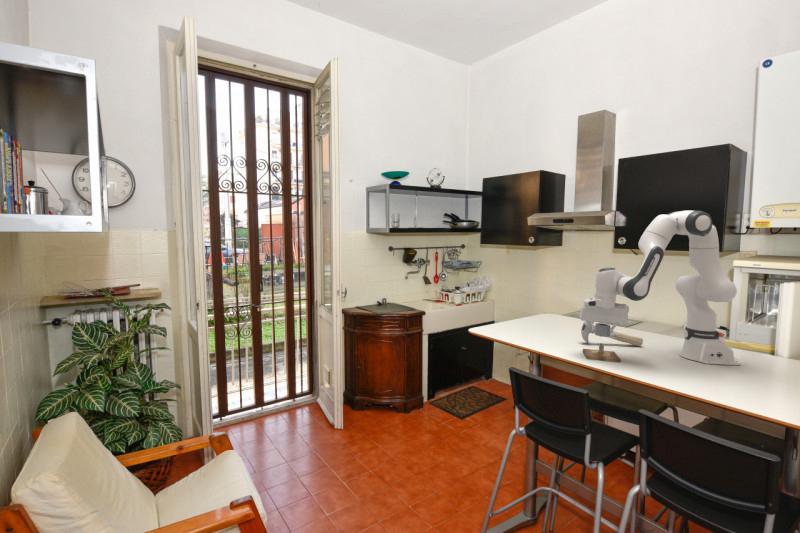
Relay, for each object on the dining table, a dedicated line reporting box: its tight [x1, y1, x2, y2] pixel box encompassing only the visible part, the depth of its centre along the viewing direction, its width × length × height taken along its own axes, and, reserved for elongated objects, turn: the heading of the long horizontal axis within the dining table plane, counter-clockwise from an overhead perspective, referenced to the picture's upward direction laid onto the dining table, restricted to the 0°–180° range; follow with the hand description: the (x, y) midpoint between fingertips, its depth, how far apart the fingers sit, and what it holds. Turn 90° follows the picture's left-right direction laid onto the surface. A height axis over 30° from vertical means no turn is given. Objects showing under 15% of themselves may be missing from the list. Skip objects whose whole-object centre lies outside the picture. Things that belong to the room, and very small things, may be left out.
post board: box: [582, 342, 622, 363], centre depth 191 cm, size 14×12×6 cm
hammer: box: [580, 321, 644, 347], centre depth 212 cm, size 16×5×30 cm
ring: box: [594, 322, 612, 338], centre depth 190 cm, size 6×6×5 cm
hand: (602, 331), depth 191 cm, fingers closed on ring, 6 cm apart
